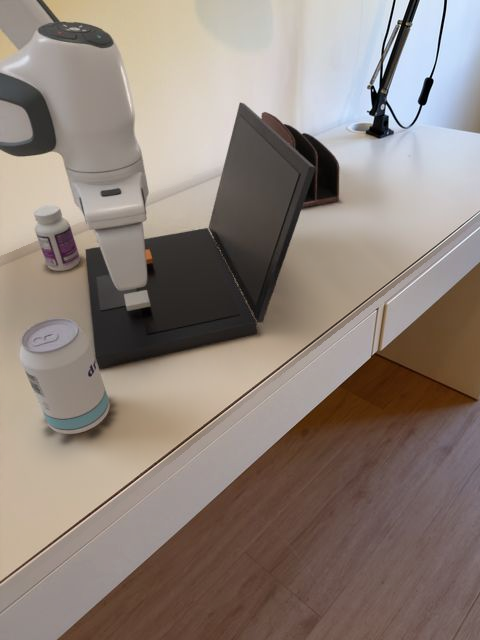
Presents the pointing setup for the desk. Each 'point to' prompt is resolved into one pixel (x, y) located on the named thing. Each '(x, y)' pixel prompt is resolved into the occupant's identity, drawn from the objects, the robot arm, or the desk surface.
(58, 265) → the pill bottle
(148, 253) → the orange block
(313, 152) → the letter holder
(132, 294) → the white flat square block
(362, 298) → the desk surface
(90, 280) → the laptop
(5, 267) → the desk surface
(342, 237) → the desk surface
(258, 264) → the laptop screen
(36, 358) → the beverage can
